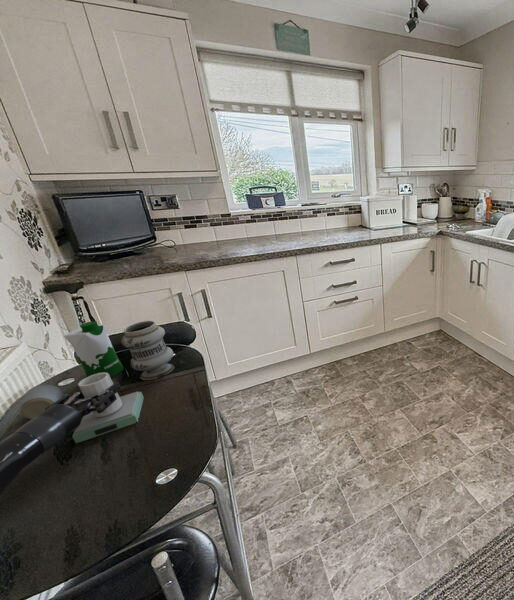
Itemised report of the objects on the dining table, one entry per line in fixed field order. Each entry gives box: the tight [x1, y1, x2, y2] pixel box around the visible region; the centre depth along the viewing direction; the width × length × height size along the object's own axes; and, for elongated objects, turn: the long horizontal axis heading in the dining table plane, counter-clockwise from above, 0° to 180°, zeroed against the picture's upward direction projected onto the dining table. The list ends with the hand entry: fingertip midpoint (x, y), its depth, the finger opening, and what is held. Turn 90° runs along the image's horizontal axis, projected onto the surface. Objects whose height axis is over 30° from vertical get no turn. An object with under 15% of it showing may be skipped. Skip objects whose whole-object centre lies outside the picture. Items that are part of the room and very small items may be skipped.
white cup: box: [77, 372, 122, 417], centre depth 89 cm, size 6×6×10 cm
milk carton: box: [63, 320, 125, 379], centre depth 111 cm, size 9×9×20 cm
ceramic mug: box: [19, 383, 73, 420], centre depth 97 cm, size 11×8×8 cm
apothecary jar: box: [120, 320, 175, 381], centre depth 111 cm, size 12×12×18 cm
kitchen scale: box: [71, 391, 145, 444], centre depth 91 cm, size 13×14×3 cm
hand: (106, 386), depth 91 cm, fingers closed on white cup, 6 cm apart
